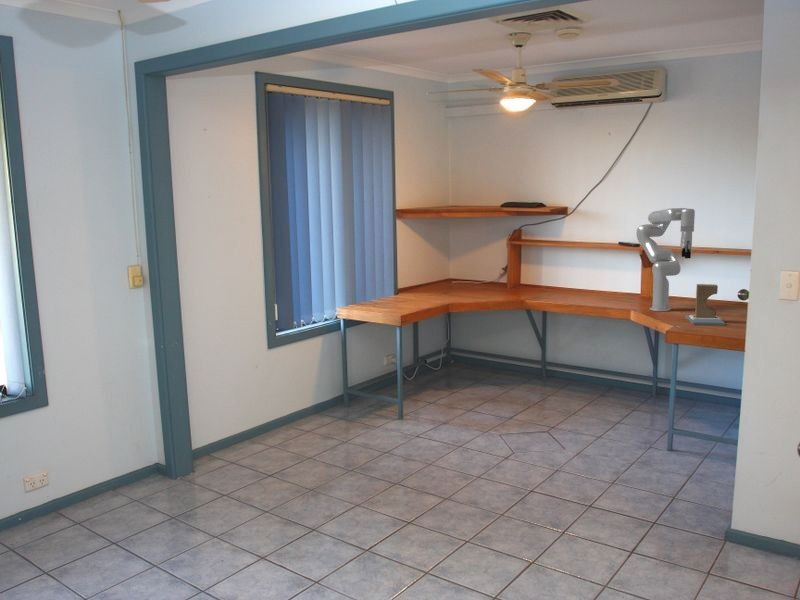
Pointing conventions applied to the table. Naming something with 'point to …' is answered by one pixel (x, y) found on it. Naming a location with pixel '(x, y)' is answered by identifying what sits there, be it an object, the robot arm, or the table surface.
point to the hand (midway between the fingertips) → (686, 257)
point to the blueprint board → (704, 320)
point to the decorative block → (704, 300)
